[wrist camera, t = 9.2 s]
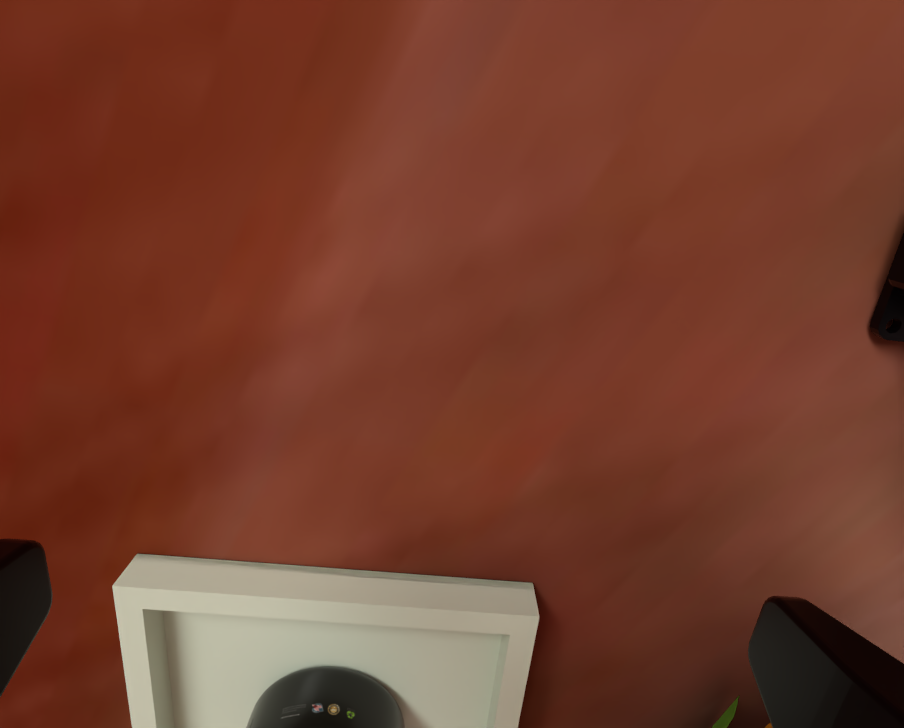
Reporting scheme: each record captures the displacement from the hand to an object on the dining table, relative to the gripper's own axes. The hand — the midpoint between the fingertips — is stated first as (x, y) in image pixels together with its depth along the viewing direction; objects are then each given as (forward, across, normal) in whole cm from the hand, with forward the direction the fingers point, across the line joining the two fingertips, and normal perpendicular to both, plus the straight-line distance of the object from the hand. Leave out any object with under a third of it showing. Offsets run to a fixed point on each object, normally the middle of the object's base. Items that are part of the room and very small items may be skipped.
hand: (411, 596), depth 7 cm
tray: (+13, +3, +19) cm, 23 cm away
